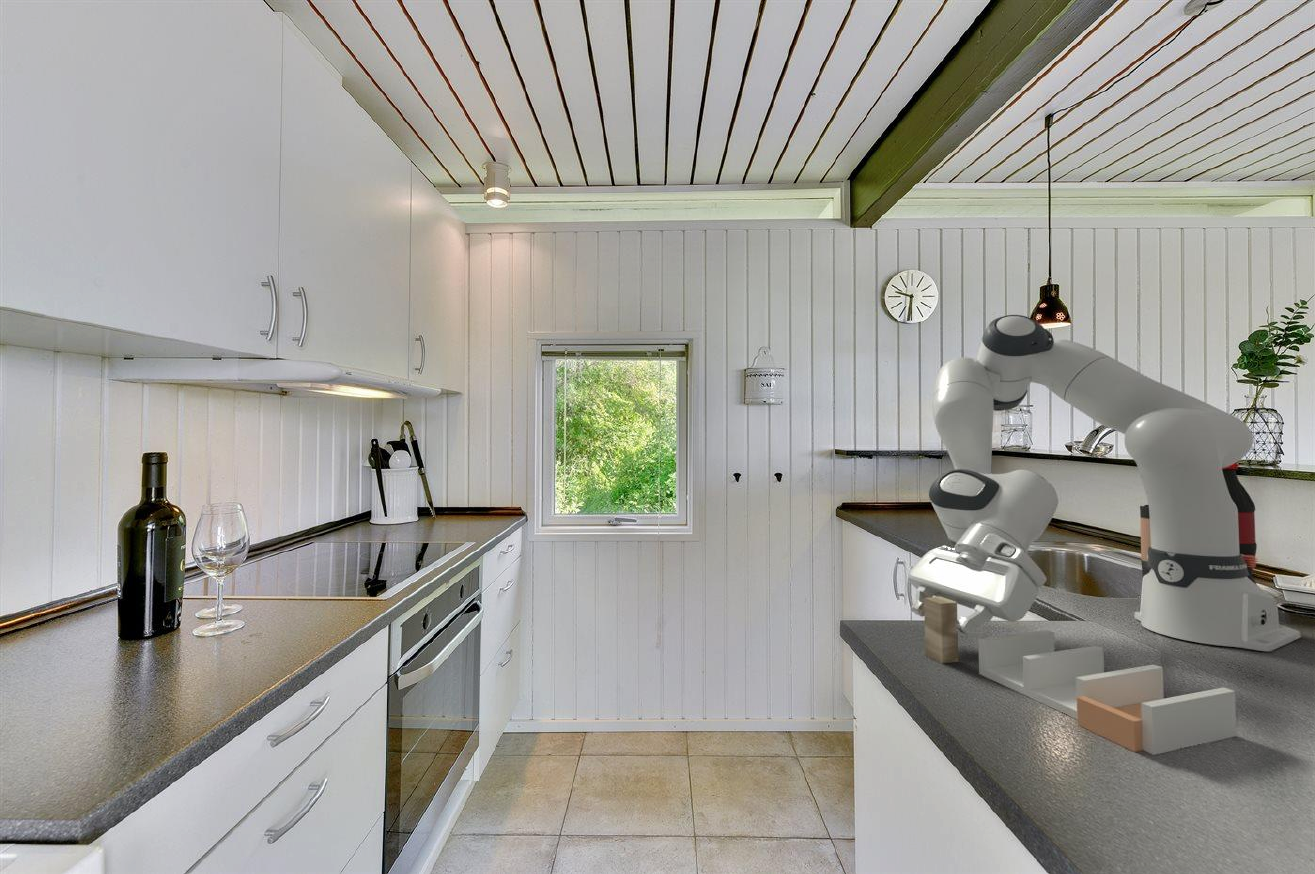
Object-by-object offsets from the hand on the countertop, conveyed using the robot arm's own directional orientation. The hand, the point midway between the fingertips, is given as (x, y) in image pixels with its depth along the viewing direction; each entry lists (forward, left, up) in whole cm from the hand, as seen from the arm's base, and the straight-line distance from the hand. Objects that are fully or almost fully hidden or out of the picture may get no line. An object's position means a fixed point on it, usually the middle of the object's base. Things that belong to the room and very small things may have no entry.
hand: (938, 621), depth 85 cm
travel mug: (-66, -10, -6) cm, 67 cm away
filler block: (0, 0, -6) cm, 6 cm away
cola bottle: (-77, -6, -6) cm, 78 cm away
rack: (-7, +18, -6) cm, 20 cm away
